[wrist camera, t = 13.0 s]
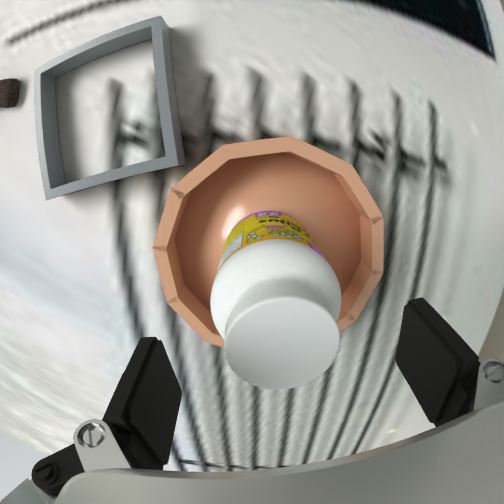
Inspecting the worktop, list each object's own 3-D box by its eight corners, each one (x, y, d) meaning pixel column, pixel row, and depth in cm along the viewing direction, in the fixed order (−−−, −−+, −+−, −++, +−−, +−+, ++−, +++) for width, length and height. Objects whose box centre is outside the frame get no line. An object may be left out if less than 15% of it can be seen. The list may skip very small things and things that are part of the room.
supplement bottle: (325, 238, 23) (395, 325, 11) (277, 300, 25) (297, 420, 12) (255, 190, 22) (262, 236, 9) (209, 259, 23) (171, 365, 11)
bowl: (151, 161, 22) (135, 162, 18) (360, 134, 21) (377, 131, 18) (192, 341, 27) (186, 363, 24) (365, 317, 26) (378, 337, 23)
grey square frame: (49, 74, 18) (34, 70, 16) (168, 27, 18) (160, 15, 15) (61, 195, 22) (46, 200, 20) (185, 164, 22) (178, 165, 19)
